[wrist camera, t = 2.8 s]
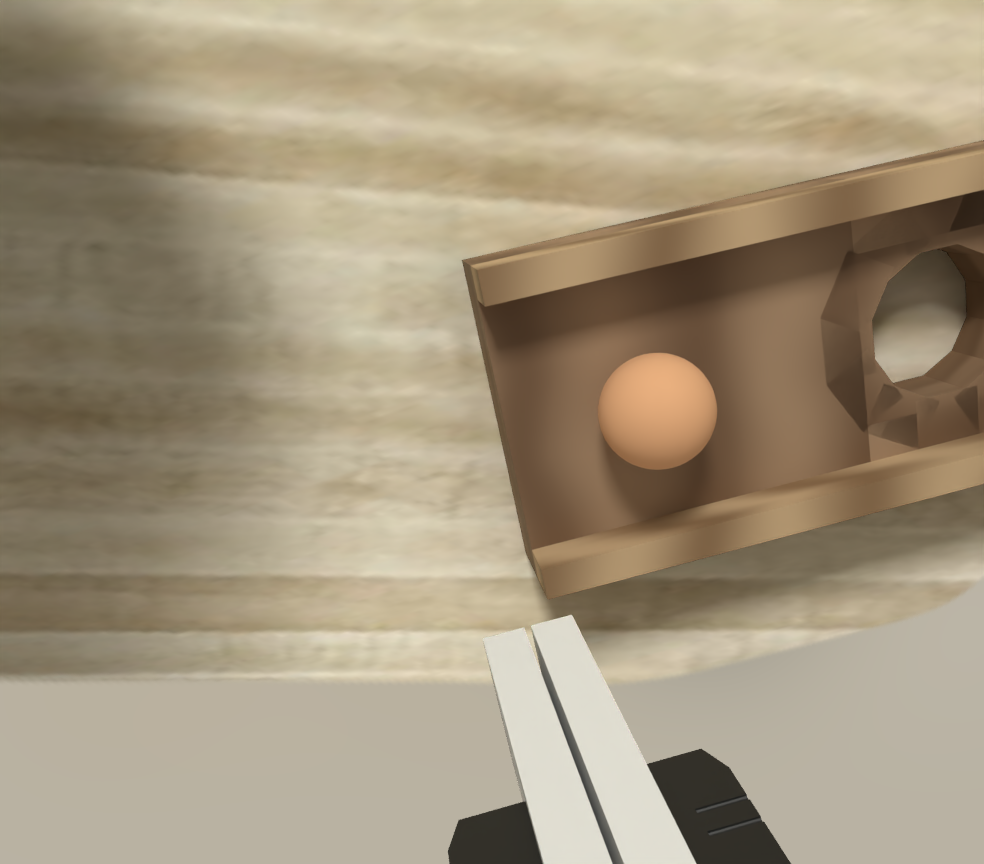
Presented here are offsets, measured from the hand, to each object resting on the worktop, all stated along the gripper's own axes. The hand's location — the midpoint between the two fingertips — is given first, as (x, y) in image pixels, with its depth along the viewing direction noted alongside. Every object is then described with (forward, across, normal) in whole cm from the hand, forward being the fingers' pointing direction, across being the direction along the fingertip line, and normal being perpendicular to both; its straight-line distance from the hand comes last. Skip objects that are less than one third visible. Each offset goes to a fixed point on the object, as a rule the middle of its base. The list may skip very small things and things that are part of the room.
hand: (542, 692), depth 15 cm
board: (+18, +14, 0) cm, 23 cm away
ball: (+14, +7, 0) cm, 16 cm away
